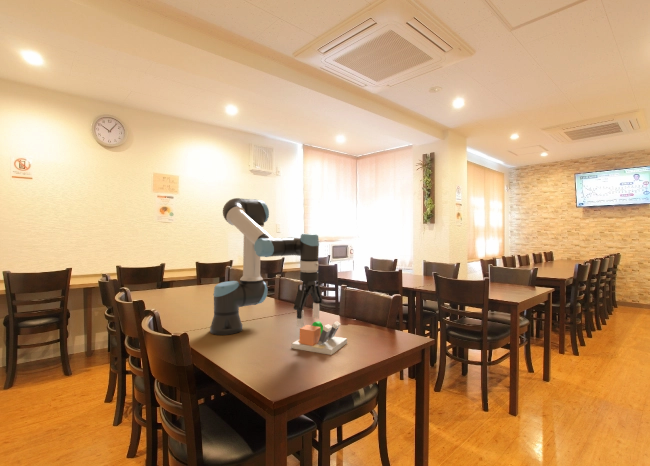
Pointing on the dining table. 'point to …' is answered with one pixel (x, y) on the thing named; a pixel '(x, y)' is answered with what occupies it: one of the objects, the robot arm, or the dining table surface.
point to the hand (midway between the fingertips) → (308, 322)
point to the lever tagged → (324, 334)
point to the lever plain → (333, 329)
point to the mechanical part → (318, 325)
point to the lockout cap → (309, 335)
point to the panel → (322, 346)
